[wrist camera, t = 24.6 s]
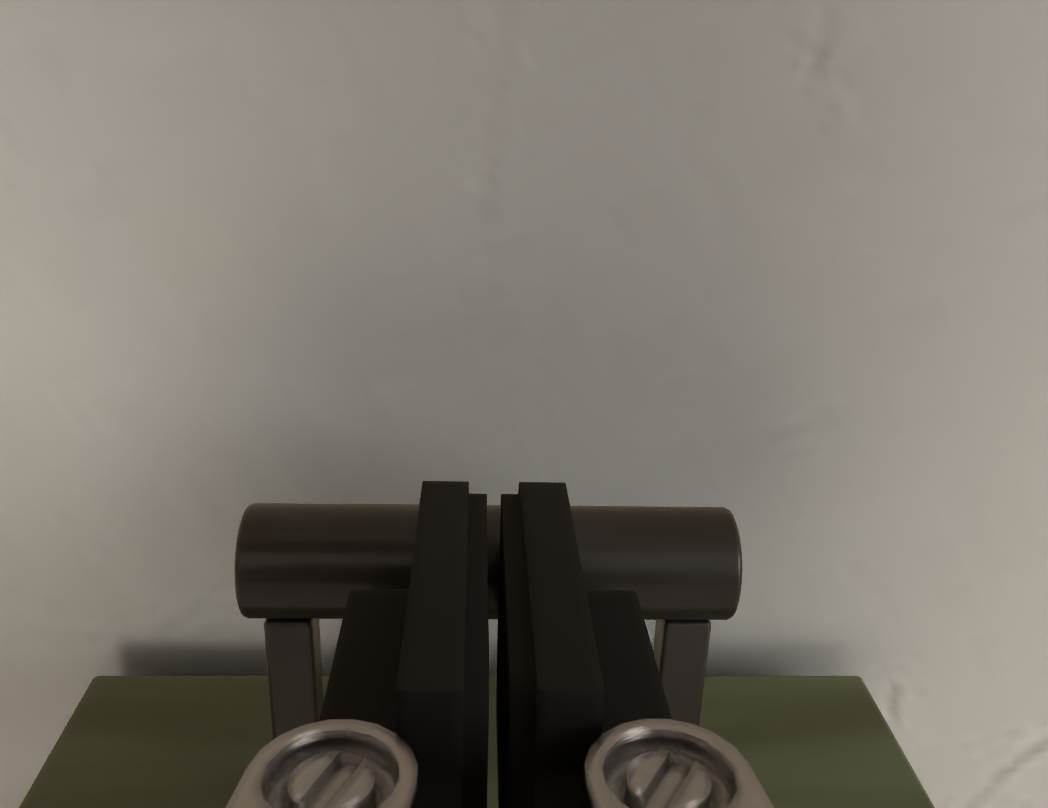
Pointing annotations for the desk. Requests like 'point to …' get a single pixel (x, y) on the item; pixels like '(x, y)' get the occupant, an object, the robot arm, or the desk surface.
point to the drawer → (385, 563)
